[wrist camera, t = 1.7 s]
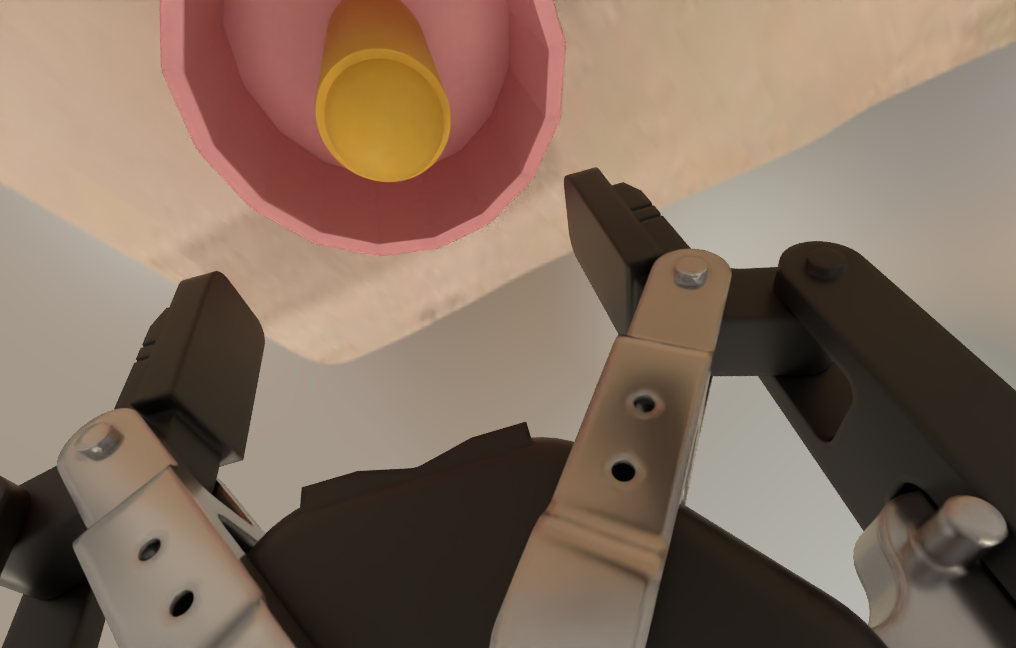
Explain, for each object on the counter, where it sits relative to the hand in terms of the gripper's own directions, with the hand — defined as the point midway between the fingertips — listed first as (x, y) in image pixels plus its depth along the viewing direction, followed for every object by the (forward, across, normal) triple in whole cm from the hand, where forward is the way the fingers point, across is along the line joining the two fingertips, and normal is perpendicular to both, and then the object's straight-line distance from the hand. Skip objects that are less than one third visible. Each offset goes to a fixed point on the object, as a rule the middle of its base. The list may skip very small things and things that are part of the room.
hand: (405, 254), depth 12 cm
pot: (+18, 0, 0) cm, 18 cm away
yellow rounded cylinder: (+17, 0, 0) cm, 17 cm away
